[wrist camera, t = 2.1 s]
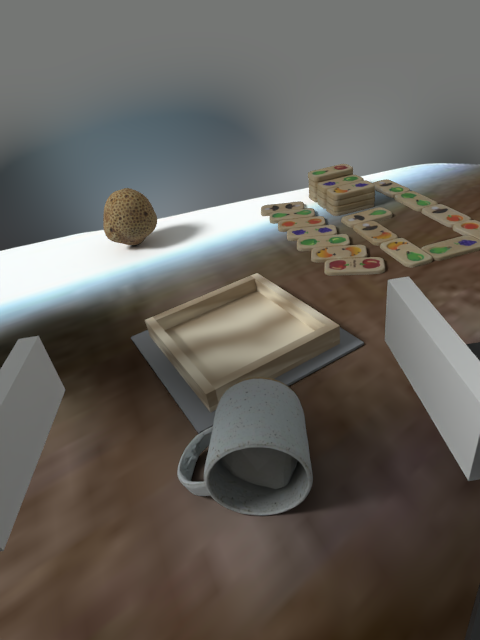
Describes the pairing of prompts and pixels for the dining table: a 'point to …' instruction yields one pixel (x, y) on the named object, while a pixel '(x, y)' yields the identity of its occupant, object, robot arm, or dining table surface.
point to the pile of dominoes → (365, 224)
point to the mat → (191, 401)
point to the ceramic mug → (253, 450)
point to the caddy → (240, 336)
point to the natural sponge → (128, 217)
